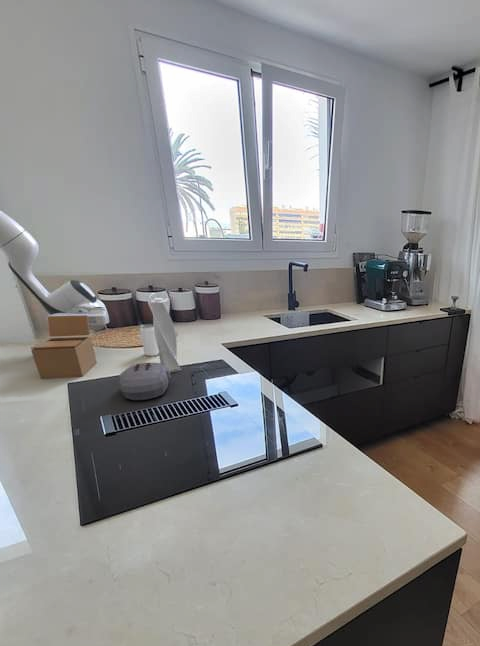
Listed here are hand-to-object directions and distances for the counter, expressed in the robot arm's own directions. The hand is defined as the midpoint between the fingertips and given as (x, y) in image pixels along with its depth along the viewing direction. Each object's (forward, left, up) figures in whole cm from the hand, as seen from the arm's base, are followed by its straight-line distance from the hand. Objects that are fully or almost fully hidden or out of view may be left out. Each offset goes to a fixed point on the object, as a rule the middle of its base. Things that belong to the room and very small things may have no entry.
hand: (71, 323), depth 149 cm
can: (+21, +15, -15) cm, 30 cm away
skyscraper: (+39, 0, -15) cm, 42 cm away
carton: (+5, -10, -15) cm, 19 cm away
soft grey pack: (+44, -20, -15) cm, 51 cm away
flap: (+1, -3, 0) cm, 3 cm away
